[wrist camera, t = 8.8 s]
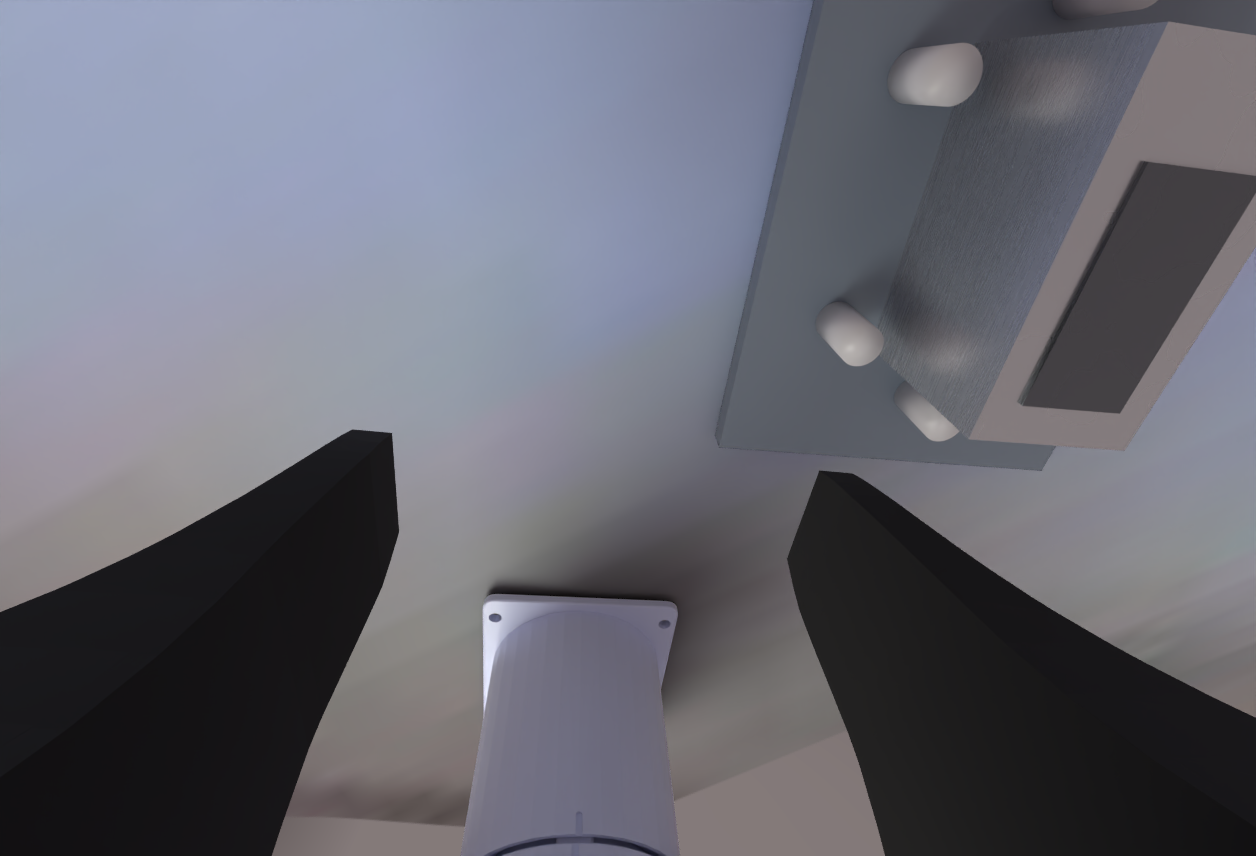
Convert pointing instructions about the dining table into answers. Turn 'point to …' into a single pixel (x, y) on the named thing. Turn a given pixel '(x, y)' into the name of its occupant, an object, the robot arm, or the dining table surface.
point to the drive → (1077, 231)
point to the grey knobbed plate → (877, 219)
